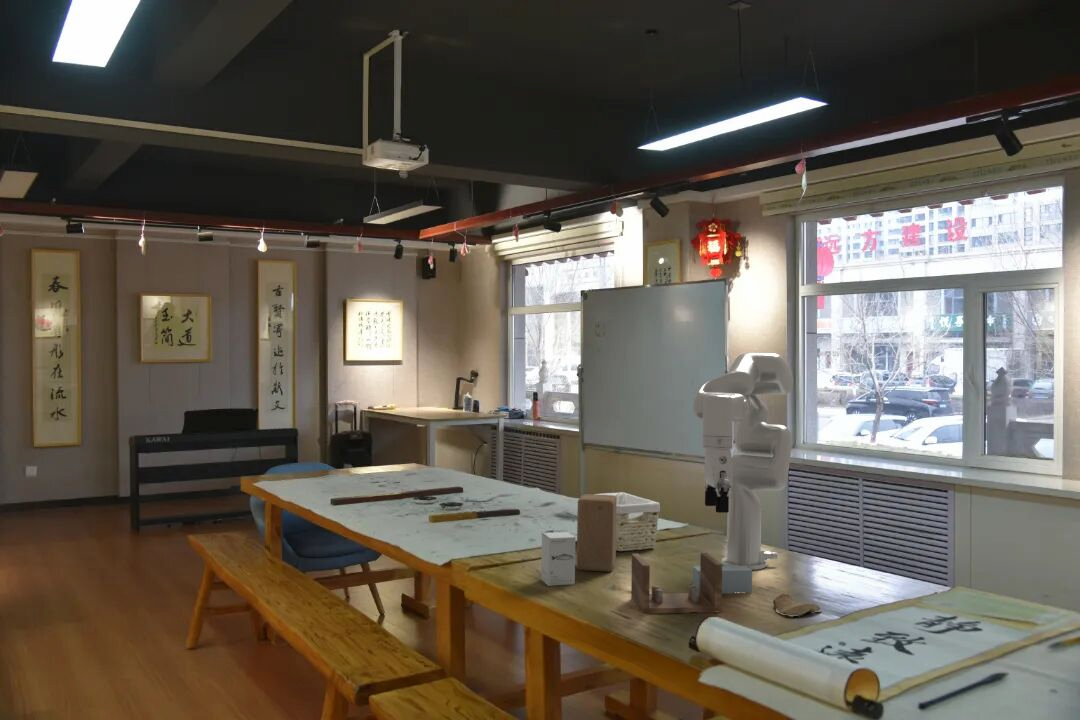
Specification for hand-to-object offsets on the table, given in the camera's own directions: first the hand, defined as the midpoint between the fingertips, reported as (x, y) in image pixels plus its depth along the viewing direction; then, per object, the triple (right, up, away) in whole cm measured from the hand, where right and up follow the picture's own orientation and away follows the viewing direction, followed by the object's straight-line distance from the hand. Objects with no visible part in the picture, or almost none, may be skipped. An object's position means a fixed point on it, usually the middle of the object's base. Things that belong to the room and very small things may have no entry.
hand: (716, 509), depth 223 cm
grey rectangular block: (+1, -21, -1) cm, 21 cm away
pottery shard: (+15, -22, -17) cm, 31 cm away
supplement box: (-41, -21, +6) cm, 46 cm away
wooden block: (-29, -21, +22) cm, 42 cm away
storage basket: (-20, -21, +53) cm, 60 cm away
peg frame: (-13, -21, -14) cm, 28 cm away
